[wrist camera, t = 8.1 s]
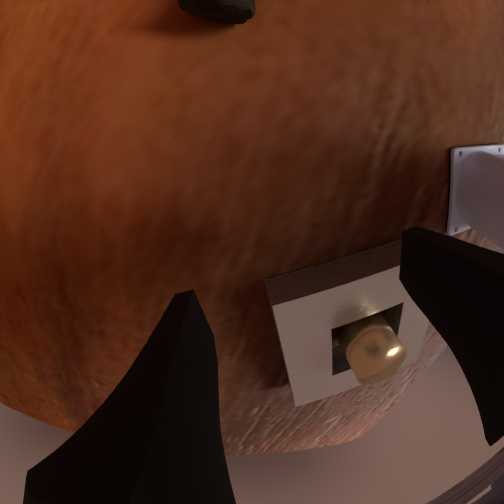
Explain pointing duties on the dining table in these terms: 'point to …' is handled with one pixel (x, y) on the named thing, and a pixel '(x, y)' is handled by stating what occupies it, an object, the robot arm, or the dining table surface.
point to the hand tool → (220, 9)
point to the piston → (371, 348)
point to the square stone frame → (339, 316)
